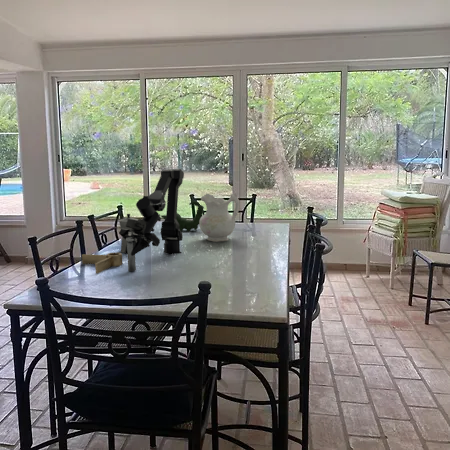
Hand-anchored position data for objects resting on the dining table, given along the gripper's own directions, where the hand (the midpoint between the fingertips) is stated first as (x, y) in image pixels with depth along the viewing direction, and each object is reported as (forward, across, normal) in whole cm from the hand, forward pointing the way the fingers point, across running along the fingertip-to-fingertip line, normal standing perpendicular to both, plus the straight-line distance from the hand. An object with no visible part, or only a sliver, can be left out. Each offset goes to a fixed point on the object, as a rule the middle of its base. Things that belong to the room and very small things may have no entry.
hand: (128, 254), depth 180 cm
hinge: (+5, -15, +5) cm, 17 cm away
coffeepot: (-13, -28, +23) cm, 39 cm away
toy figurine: (-51, -42, +62) cm, 90 cm away
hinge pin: (+4, 0, +6) cm, 7 cm away
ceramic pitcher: (-45, -8, +56) cm, 72 cm away
